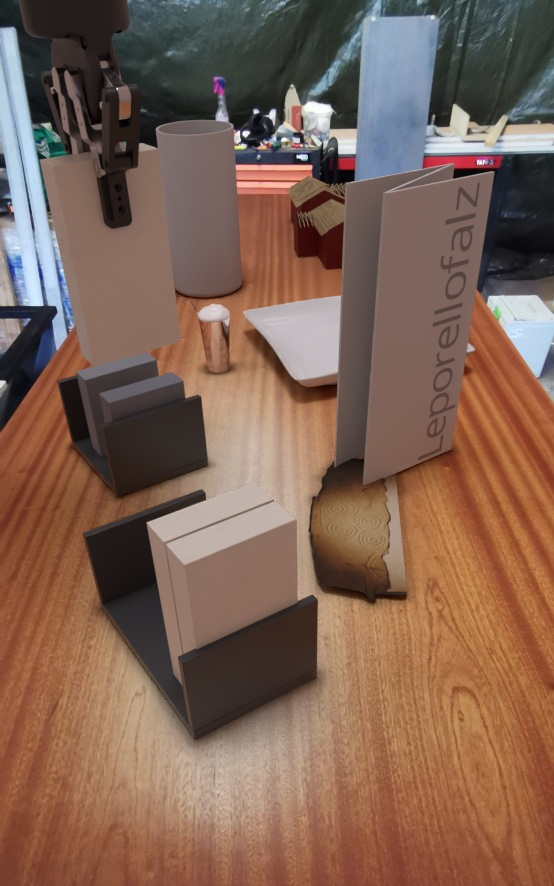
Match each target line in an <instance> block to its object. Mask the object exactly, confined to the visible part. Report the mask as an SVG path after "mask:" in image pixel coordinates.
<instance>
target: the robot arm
mask: <svg viewBox="0 0 554 886" xmlns="http://www.w3.org/2000/svg"><path fill="white" fill-rule="evenodd" d="M18 3H19V8H20V9H19V10H20V14H21V20H22V25H23V28H24V30H25V32H26V33H27V34H28V35H29V36H31V37H32V38H37V39H38V38H39V39H50V50H51V51H50V53H51V54H50V55H51V56H50V57H51V64H52V68H51V69H50V70H43V71H41V72H40V73H41V74H40V75H41V79H40V80H41V83H42V85H43V89H44V92H45V94H46V99H47V100H48V104H49V107H50V111H51V113H52V116H53V118H54V123H55V126H56V128H57V132H58V134H59V138H60V142H61V144H62V148H63V150H64V152H65V155H71V154H78V153H84V152H90V151H91V154H92V158H93V163H94V167H95V172H96V174H97V176H98V177H96V178H97V184H98V189H99V195H100V201H101V207H102V212H103V218H104V223H105V225H106V226H108V227H109V228H111V229H116V228H120V227H125V226H129V225H130V224H131V223H132V214H131V208H130V201H129V194H128V188H127V181H126V174H125V173H129V170H130V169H134V168H137V167H138V157H139V143H140V133H141V132H140V131H141V130H140V129H141V128H140V127H141V104H142V95H141V94H142V93H141V90H140V88H139V86H138V84H137V83H131V84H125V83H124V82H123V80H122V75H121V71H120V65H119V62H118V58H117V55H116V51H115V47H114V43H113V37H114V35H115V34H122V33H125V32H126V31H127V30H128V29H129V28H130V24H131V18H130V11H129V2H128V0H18ZM125 146H126V147H125Z"/></svg>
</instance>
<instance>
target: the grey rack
mask: <svg viewBox="0 0 554 886" xmlns="http://www.w3.org/2000/svg"><path fill="white" fill-rule="evenodd" d="M158 367H159V366H158V360H157V359H156V358H155V356H153V355H151V354H150V353H148V351H146V352H142V353H139V354H136V355H132V356H129V357H125V358H122V359H118V360H115V361H111V362H108V363H104V364H101V365H97V366H93V365H92V366H91V367H86V368H83V369H79V370H76V372H75V375H70V376H67V377H64V378H61V379H57V380H56V382H57V387H58V391H59V395H60V399H61V403H62V408H63V412H64V416H65V421H66V424H67V428H68V433H69V436H70V440H71V444H72V445H71V446H72V448H73V449H74V450H75V451H76V452H77V453H78V454H79V455H80V456H81V458H82V459H83V460H84V461H85V462H86V463H87V465H88V466H89V467H90V468H91V469H92V470H93V471H94V472H95V474H97V476H98V477H99V478H100V479H101V480H102V482H104V484H105V485H106V486H107V487H108V489H109V490H111V492H112V493H113V494H114V495H115V496H116V498H121V497H123V496H125V495H128V494H132V493H134V492H137V491H139V490H142V489H145V488H148V487H152V486H154V485H157V484H160V483H162V482H165V481H169V480H171V479H173V478H176V477H179V476H182V475H185V474H187V473H190V472H191V473H192V472H193V471H196V470H198V469H202V468H205V467H207V466H209V459H208V458H209V457H208V448H207V439H206V429H205V418H204V409H203V400H202V399H203V398H202V396H201V395H200V394H194V395H192V396H189V397H186V392H185V391H186V390H185V383H184V380H183V379H182V378H181V377H180V376H178V375H177V374H175V373H174V372H173V371H171V372H167V373H164V374H161V375H160V374H159V368H158Z"/></svg>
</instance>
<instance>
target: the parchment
mask: <svg viewBox="0 0 554 886" xmlns="http://www.w3.org/2000/svg"><path fill="white" fill-rule="evenodd" d="M364 459H365V458H359V459H358V458H352V459H350V460H349V461H345V462H344V463H342V464H340V465H338V466H337V467H334V460H333V461H332V463H331V465H330V466H328V468H327V469H326V471H325V473H324V475H323V476H321V481H320V482H321V487H320V489H319V491H318V492H317V493H318V494H317V495H316V496H315V495H314V496H312V497H311V504H310V511H309V526H308V532H309V534H310V546H311V551H312V556H313V565H314V571H315V573H316V575H317V580H319V582H320V584H321V586H322V587H329V586H333V587H336V588H342V589H346V590H351V591H353V590H354V591H357V592H360V593H364V595H366V596H367V598H369V599H370V600H373V601H376V600H377V599H378V598H377V595H382V596H390V595H391V596H405V595H407V596H408V586H407V577H406V566H405V557H404V547H403V539H402V538H403V537H402V527H401V515H400V506H399V505H400V503H399V494H398V493H399V492H398V483H397V482H398V481H397V473H395V474H393V475H390V476H388V477H386V478H381V479H378V480H376V481H374V482H372V483H369V484H367V485H363V473H364Z"/></svg>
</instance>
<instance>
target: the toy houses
mask: <svg viewBox="0 0 554 886" xmlns="http://www.w3.org/2000/svg"><path fill="white" fill-rule="evenodd" d="M346 183H347V182H345V183H343V182H341V183H340V184H338V183H335V185H334V183H332V184H330V183H328V184H327V183H326V182H325V181H324V182H323V181H322V180H319V179H317V178H315V177H313V176H311V175H308V176H306V177H303V178H302V179H301V180H299V181H298V182H296V183H295V184H293V185H291V186H289V188H287V189H285V192H286V193H287V195H288V196H289V198H290V221H291V223H292V225H293V250H294V252H295V254H296V256H297V257H298V258H304V257H318V259H319V260H320V262H321V263H322V265H323V267H324V268H325V270H335V269H337V270H338V269H342V259H343V234H344V209H345V184H346Z"/></svg>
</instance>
